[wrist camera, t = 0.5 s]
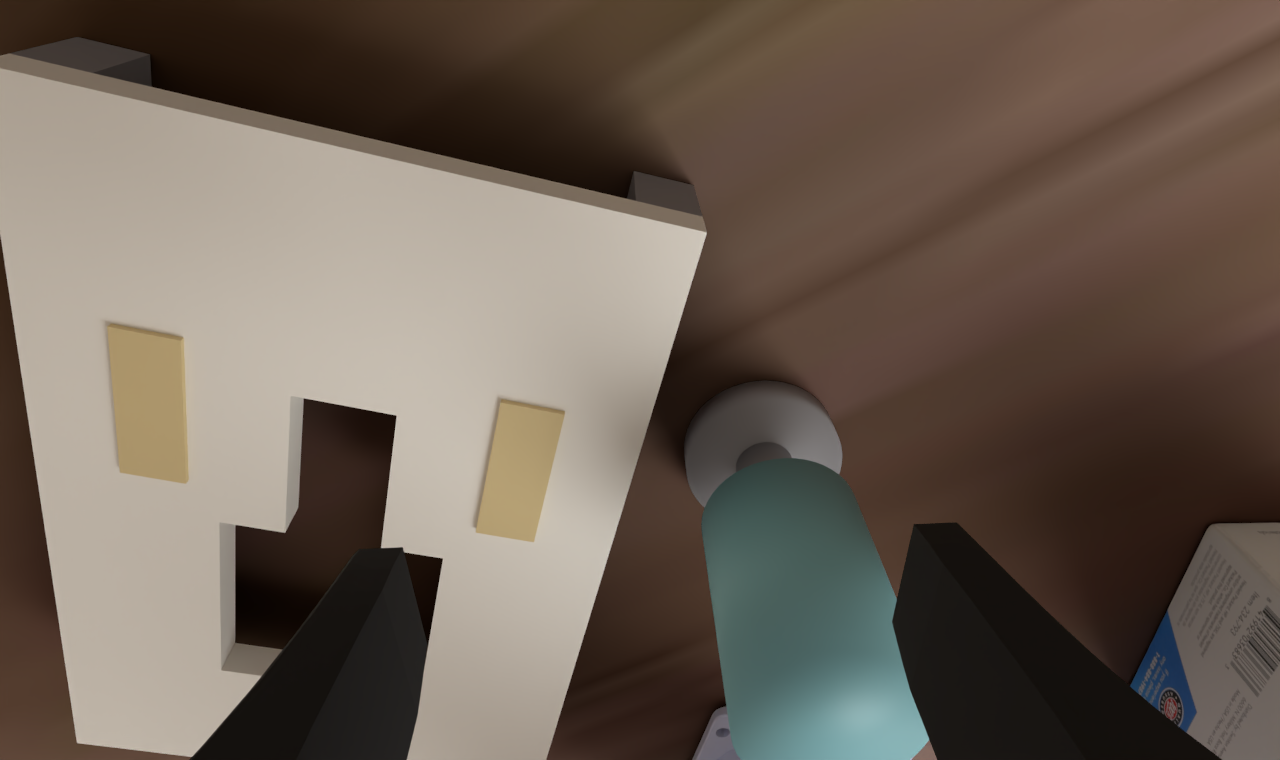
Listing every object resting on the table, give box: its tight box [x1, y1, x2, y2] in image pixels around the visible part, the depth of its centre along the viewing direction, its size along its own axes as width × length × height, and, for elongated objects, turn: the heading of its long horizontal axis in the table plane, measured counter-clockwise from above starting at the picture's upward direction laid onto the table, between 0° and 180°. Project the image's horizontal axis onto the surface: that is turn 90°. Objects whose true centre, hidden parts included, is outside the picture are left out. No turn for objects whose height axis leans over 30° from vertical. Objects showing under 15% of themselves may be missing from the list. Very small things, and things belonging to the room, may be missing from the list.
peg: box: [684, 381, 929, 760], centre depth 20 cm, size 4×4×9 cm
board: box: [0, 37, 707, 760], centre depth 22 cm, size 20×14×3 cm
